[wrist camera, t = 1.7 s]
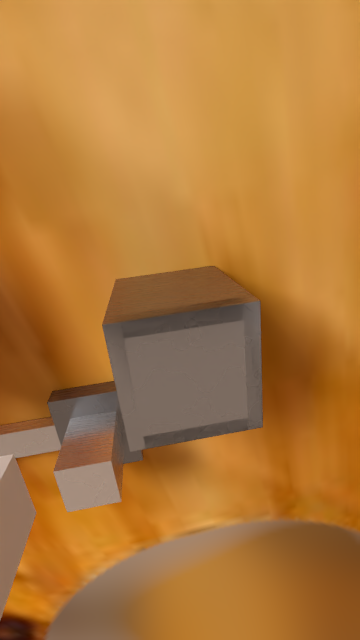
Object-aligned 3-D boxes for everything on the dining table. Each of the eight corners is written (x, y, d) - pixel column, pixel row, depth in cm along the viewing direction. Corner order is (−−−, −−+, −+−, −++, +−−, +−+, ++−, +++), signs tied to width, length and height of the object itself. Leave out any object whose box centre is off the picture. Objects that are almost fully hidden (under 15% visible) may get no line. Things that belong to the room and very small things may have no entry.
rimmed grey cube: (115, 279, 22) (102, 324, 13) (213, 265, 22) (260, 300, 14) (132, 367, 24) (130, 451, 16) (220, 352, 25) (262, 427, 16)
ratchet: (-111, 418, 23) (-199, 493, 17) (129, 378, 24) (126, 434, 18) (-73, 486, 25) (-139, 574, 19) (142, 446, 27) (144, 516, 21)
